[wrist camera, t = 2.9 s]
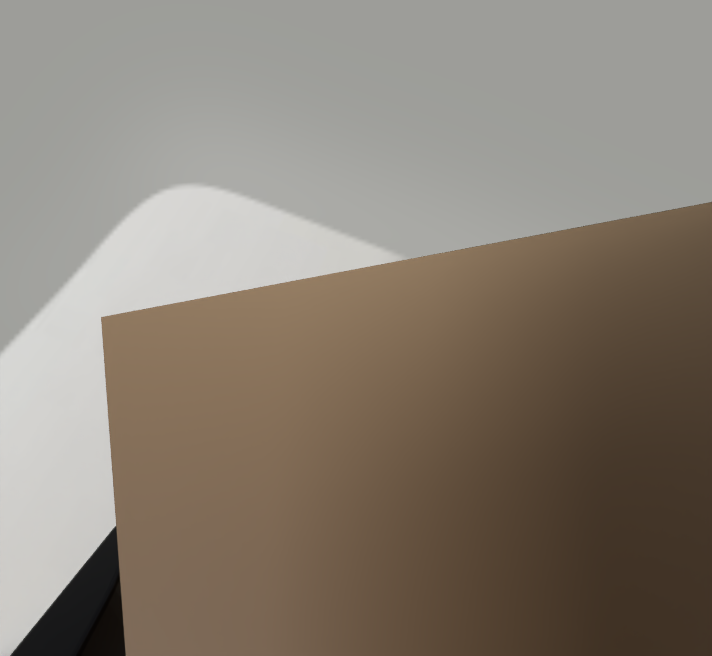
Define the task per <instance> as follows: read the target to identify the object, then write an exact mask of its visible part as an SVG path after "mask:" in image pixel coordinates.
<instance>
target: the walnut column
mask: <svg viewBox="0 0 712 656" xmlns="http://www.w3.org/2000/svg"><path fill="white" fill-rule="evenodd" d="M101 322H102V335H103V349H104V363H105V377H106V390H107V404H108V418H109V432H110V445H111V459H112V473H113V487H114V500H115V514H116V528H117V542H118V555H119V569H120V583H121V597H122V610H123V624H124V638H125V652H126V656H712V202H710V203H704V204H699V205H694V206H689V207H683V208H678V209H673V210H668V211H662V212H657V213H651V214H646V215H641V216H636V217H630V218H625V219H620V220H614V221H609V222H604V223H599V224H593V225H588V226H583V227H577V228H572V229H567V230H561V231H557V232H551V233H546V234H540V235H535V236H530V237H524V238H519V239H514V240H509V241H503V242H498V243H492V244H487V245H482V246H476V247H472V248H466V249H461V250H455V251H450V252H445V253H439V254H434V255H429V256H423V257H418V258H413V259H408V260H402V261H397V262H392V263H386V264H381V265H376V266H370V267H365V268H360V269H355V270H349V271H344V272H339V273H333V274H328V275H323V276H317V277H312V278H307V279H302V280H296V281H291V282H286V283H280V284H275V285H270V286H264V287H259V288H254V289H248V290H243V291H238V292H233V293H227V294H222V295H217V296H211V297H206V298H201V299H195V300H190V301H185V302H180V303H174V304H169V305H164V306H158V307H153V308H148V309H142V310H137V311H132V312H127V313H121V314H116V315H111V316H105V317H101Z"/></svg>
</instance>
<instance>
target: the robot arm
mask: <svg viewBox="0 0 712 656" xmlns="http://www.w3.org/2000/svg"><path fill="white" fill-rule="evenodd" d="M10 656H126V652H125V638H124V624H123V610H122V597H121V583H120V569H119V555H118V542H117V528H116V526H115V527H114V528H113V530H112V531H111V532H110V533H109V535H108V536H107V537H106V538H105V540H104V541H103V542H102V543H101V544H100V546H99V547H98V548H97V549H96V551H95V552H94V553H93V554H92V556H91V557H90V558H89V559H88V560H87V562H86V563H85V564H84V565H83V567H82V568H81V569H80V570H79V572H78V573H77V574H76V575H75V576H74V578H73V579H72V580H71V581H70V583H69V584H68V585H67V586H66V588H65V589H64V590H63V591H62V592H61V594H60V595H59V596H58V597H57V599H56V600H55V601H54V602H53V604H52V605H51V606H50V607H49V608H48V610H47V611H46V612H45V613H44V615H43V616H42V617H41V618H40V620H39V621H38V622H37V623H36V625H35V626H34V627H33V628H32V629H31V631H30V632H29V633H28V634H27V636H26V637H25V638H24V639H23V641H22V642H21V643H20V644H19V645H18V647H17V648H16V649H15V650H14V652H13V653H12V654H11V655H10Z"/></svg>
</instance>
